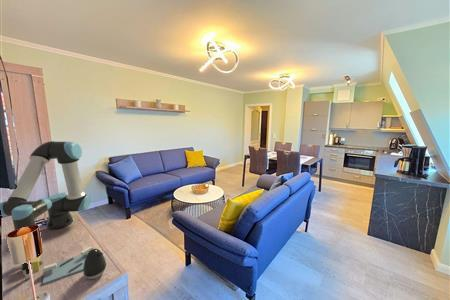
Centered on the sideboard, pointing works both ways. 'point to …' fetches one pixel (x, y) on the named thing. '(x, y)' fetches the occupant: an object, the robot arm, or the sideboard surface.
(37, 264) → the coupler
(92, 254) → the dark grey dome
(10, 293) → the sideboard surface
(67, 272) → the shaft rig
